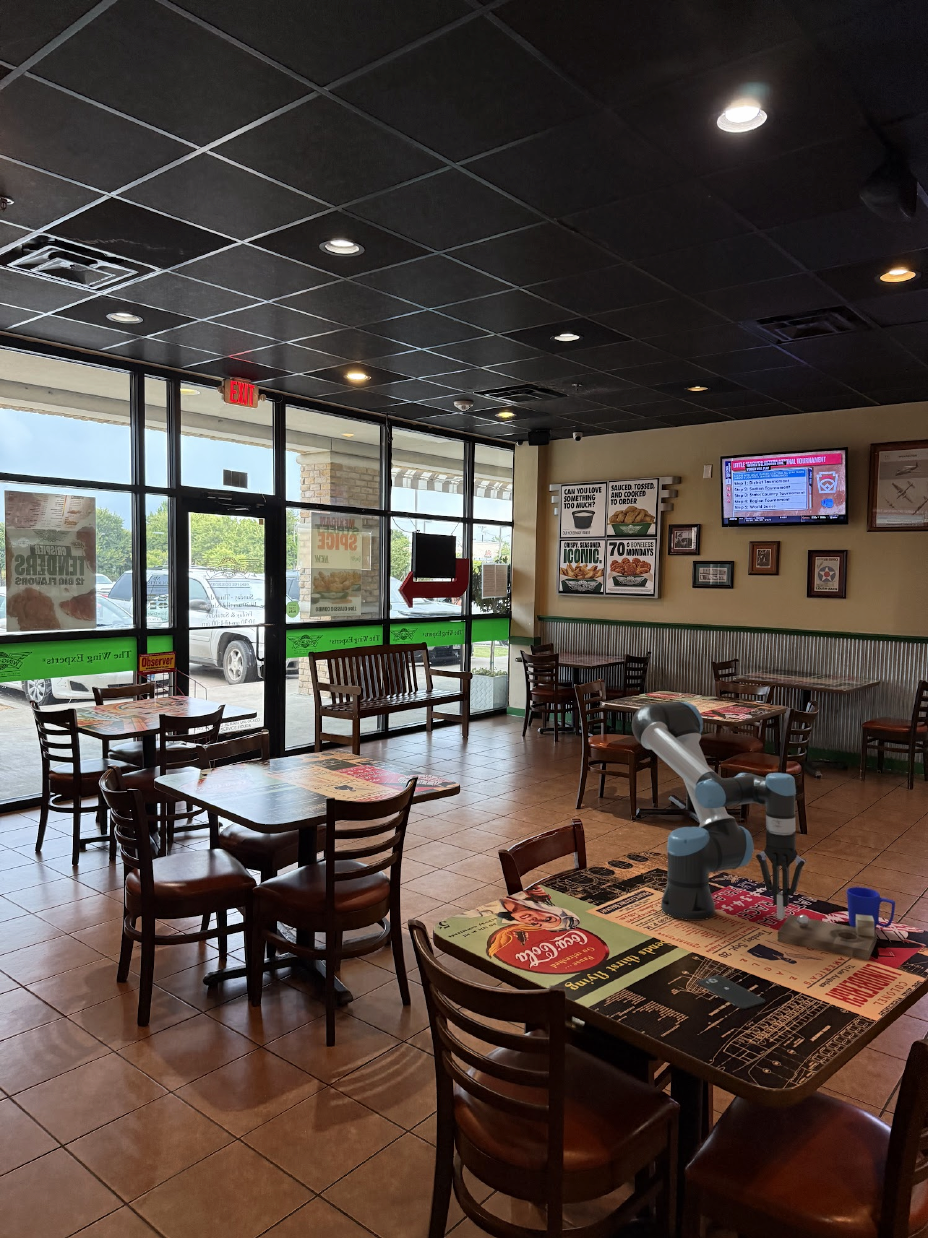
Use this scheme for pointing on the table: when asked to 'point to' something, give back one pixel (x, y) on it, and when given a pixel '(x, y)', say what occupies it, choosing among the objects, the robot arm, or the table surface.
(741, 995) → the smartphone
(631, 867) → the table surface
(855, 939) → the deck
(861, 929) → the maple cube
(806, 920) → the ball
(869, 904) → the mug
